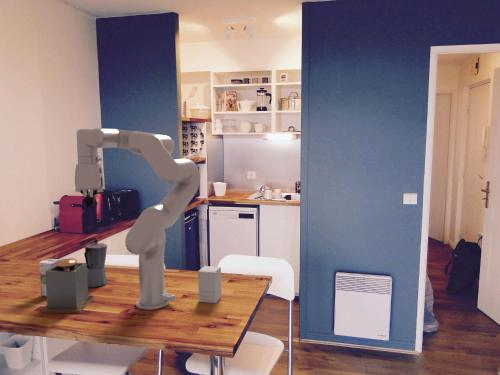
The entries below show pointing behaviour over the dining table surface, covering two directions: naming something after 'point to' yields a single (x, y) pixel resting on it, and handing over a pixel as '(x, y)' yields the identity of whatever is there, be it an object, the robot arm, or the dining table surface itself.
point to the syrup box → (44, 267)
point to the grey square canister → (67, 289)
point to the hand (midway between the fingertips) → (90, 206)
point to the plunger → (66, 263)
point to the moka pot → (96, 263)
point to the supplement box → (209, 284)
